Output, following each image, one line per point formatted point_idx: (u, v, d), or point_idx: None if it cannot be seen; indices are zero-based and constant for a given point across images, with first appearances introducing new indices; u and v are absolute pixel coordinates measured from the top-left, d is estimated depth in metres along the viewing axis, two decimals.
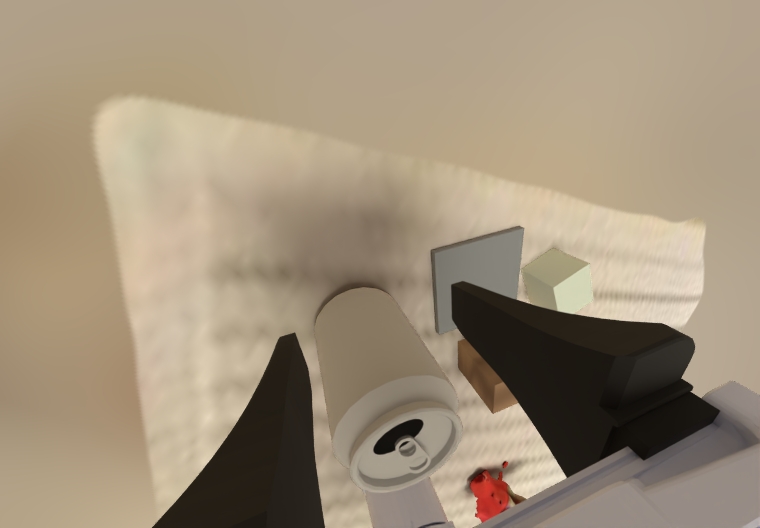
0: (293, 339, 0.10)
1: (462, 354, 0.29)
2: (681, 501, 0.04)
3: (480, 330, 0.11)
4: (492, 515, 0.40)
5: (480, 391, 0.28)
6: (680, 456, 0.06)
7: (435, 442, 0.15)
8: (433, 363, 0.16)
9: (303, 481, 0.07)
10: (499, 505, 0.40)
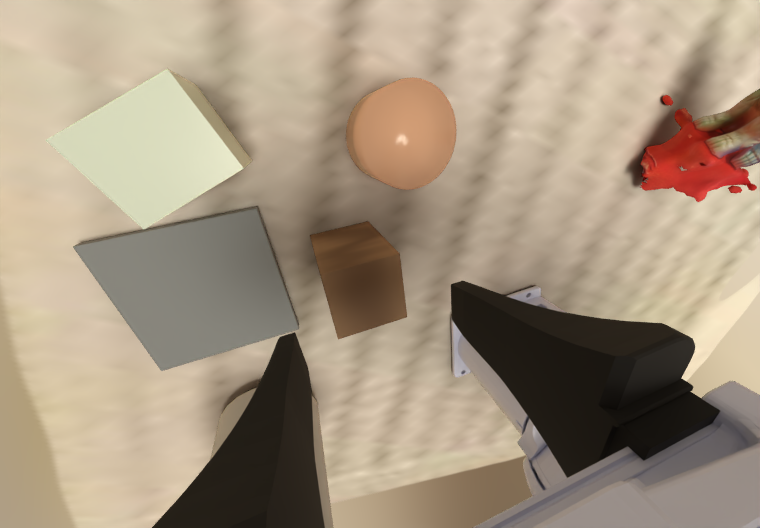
0: (293, 339, 0.10)
1: None
2: (681, 501, 0.04)
3: (480, 330, 0.11)
4: (720, 177, 0.21)
5: None
6: (680, 456, 0.06)
7: None
8: None
9: (303, 481, 0.07)
10: (709, 166, 0.20)
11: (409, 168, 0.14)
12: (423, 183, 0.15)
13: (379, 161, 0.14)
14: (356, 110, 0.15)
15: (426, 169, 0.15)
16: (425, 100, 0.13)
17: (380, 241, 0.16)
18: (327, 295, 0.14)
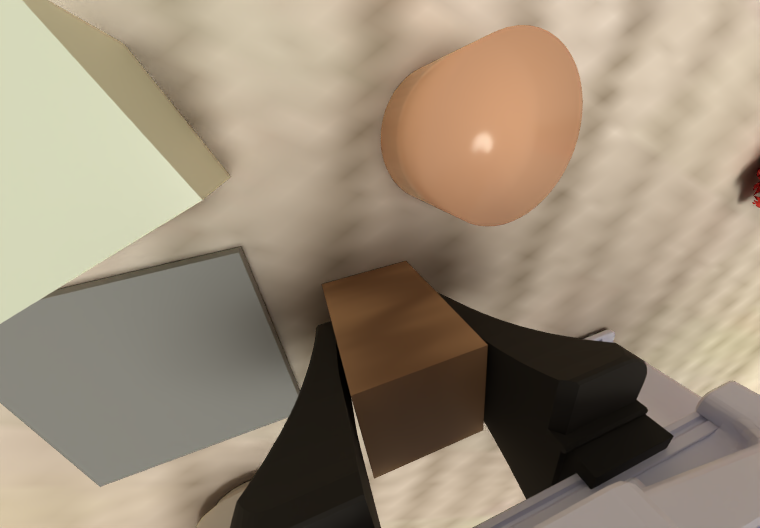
0: None
1: None
2: (681, 502, 0.04)
3: None
4: None
5: None
6: (680, 456, 0.06)
7: None
8: None
9: (361, 457, 0.07)
10: None
11: (499, 191, 0.08)
12: (517, 214, 0.09)
13: (453, 181, 0.08)
14: (404, 93, 0.09)
15: (524, 192, 0.09)
16: (541, 70, 0.07)
17: (440, 309, 0.10)
18: (361, 423, 0.08)
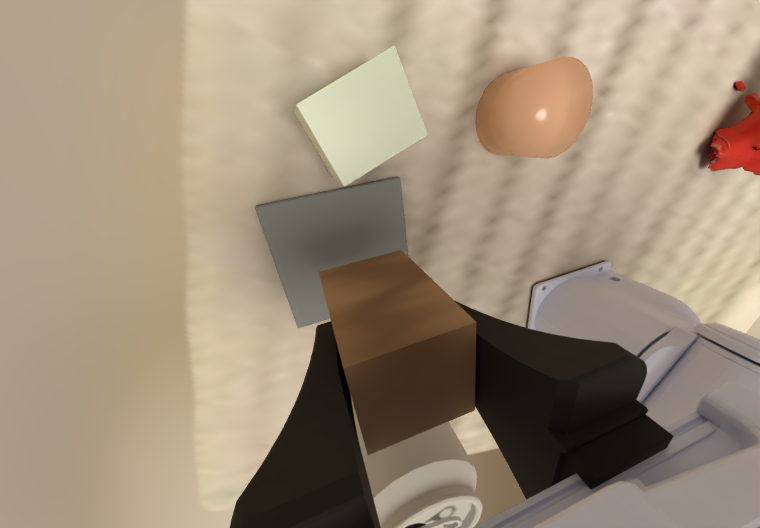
0: None
1: None
2: (680, 501, 0.04)
3: None
4: None
5: None
6: (680, 456, 0.06)
7: None
8: (369, 470, 0.15)
9: (360, 457, 0.07)
10: None
11: (550, 138, 0.16)
12: (558, 152, 0.17)
13: (529, 131, 0.16)
14: (497, 88, 0.17)
15: (562, 140, 0.17)
16: (574, 77, 0.15)
17: (431, 291, 0.10)
18: (354, 397, 0.08)
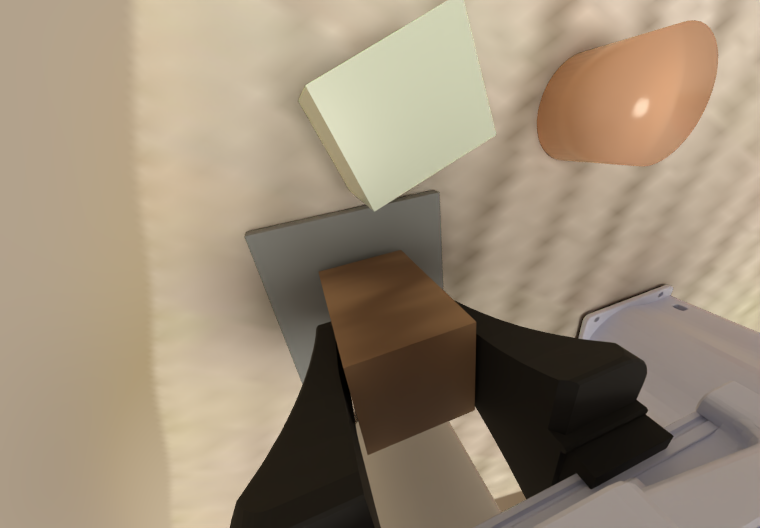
0: None
1: None
2: (681, 501, 0.04)
3: None
4: None
5: None
6: (680, 456, 0.06)
7: None
8: None
9: (361, 457, 0.07)
10: None
11: (653, 139, 0.12)
12: (660, 158, 0.12)
13: (628, 130, 0.11)
14: (574, 73, 0.12)
15: (668, 140, 0.12)
16: (695, 51, 0.11)
17: (431, 291, 0.10)
18: (354, 397, 0.08)
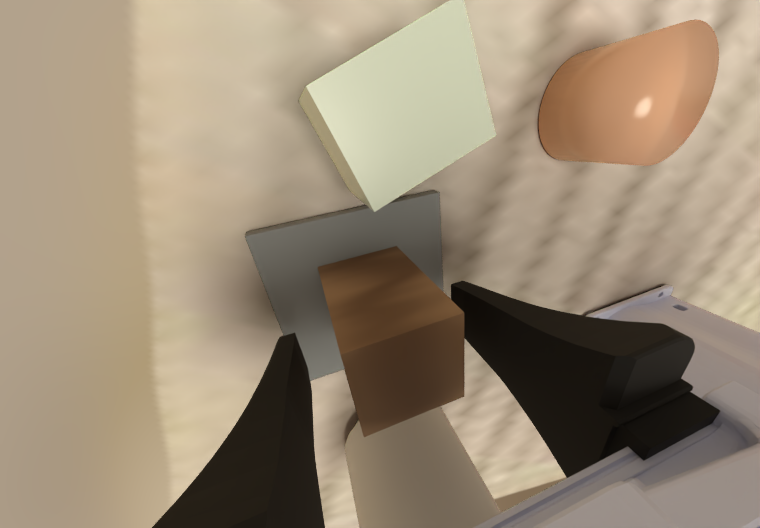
0: (293, 339, 0.10)
1: None
2: (681, 501, 0.04)
3: (480, 330, 0.11)
4: None
5: None
6: (680, 456, 0.06)
7: None
8: None
9: (303, 481, 0.07)
10: None
11: (658, 138, 0.12)
12: (664, 156, 0.12)
13: (633, 131, 0.11)
14: (575, 75, 0.12)
15: (672, 138, 0.12)
16: (697, 49, 0.11)
17: (424, 285, 0.10)
18: (350, 382, 0.08)
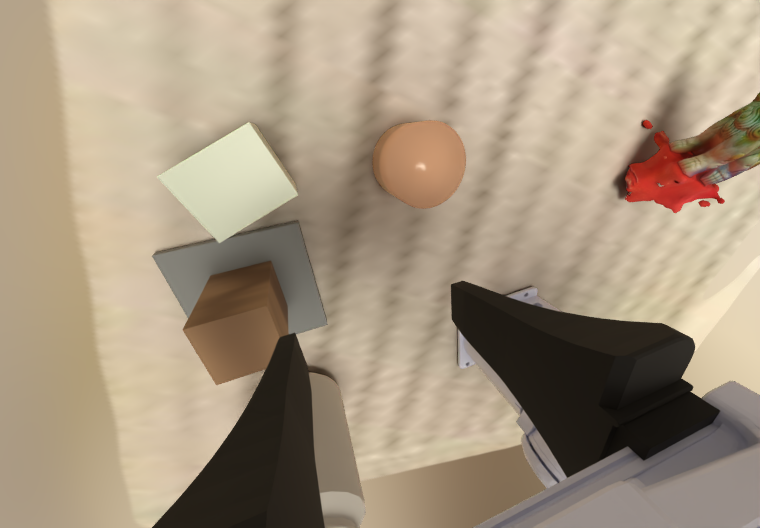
0: (293, 339, 0.10)
1: None
2: (680, 501, 0.04)
3: (480, 330, 0.11)
4: (692, 192, 0.24)
5: None
6: (680, 456, 0.06)
7: None
8: None
9: (303, 481, 0.07)
10: (682, 183, 0.24)
11: (429, 190, 0.17)
12: (442, 200, 0.18)
13: (404, 190, 0.17)
14: (379, 148, 0.18)
15: (443, 189, 0.18)
16: (436, 136, 0.16)
17: (261, 288, 0.16)
18: (195, 347, 0.14)
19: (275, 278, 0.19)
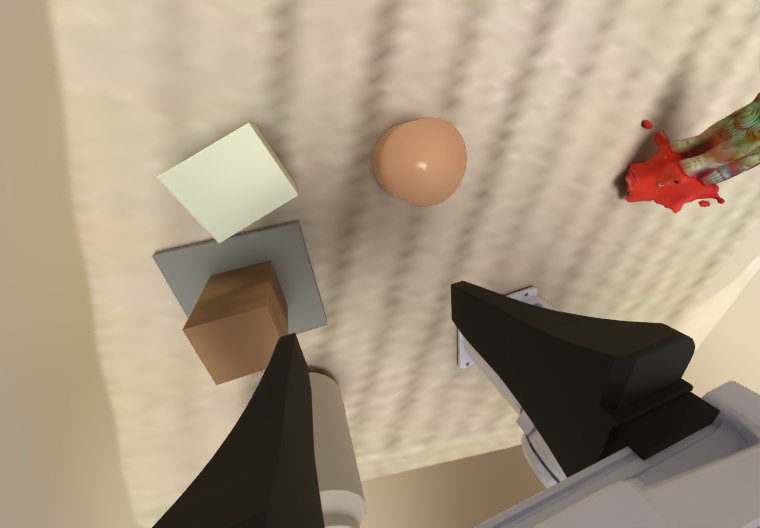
0: (293, 339, 0.10)
1: None
2: (680, 501, 0.04)
3: (480, 330, 0.11)
4: (692, 192, 0.24)
5: None
6: (680, 456, 0.06)
7: None
8: None
9: (303, 481, 0.07)
10: (682, 183, 0.24)
11: (432, 187, 0.17)
12: (447, 196, 0.18)
13: (407, 190, 0.17)
14: (378, 151, 0.18)
15: (447, 184, 0.17)
16: (434, 132, 0.16)
17: (261, 288, 0.16)
18: (195, 347, 0.14)
19: (275, 278, 0.19)
